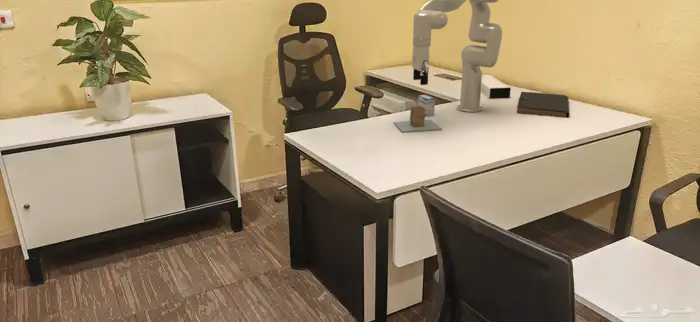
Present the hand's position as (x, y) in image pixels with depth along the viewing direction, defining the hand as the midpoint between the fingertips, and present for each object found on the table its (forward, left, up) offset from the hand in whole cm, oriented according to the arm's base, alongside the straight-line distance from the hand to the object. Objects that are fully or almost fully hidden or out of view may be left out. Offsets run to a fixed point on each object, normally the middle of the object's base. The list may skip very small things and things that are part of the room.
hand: (420, 82), depth 233 cm
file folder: (-17, +72, -21) cm, 77 cm away
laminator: (-55, +61, -21) cm, 85 cm away
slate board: (0, -1, -20) cm, 20 cm away
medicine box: (-19, +10, -21) cm, 30 cm away
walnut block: (0, -1, -20) cm, 20 cm away
